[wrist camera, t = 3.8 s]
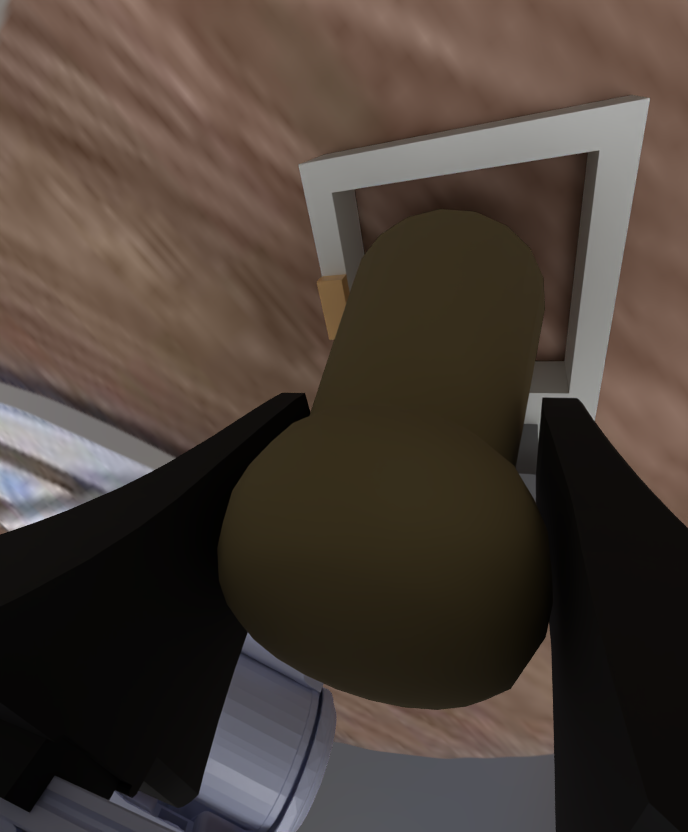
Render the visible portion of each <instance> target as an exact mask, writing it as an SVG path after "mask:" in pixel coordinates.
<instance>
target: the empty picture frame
mask: <svg viewBox="0 0 688 832" xmlns="http://www.w3.org/2000/svg"><path fill="white" fill-rule="evenodd" d="M649 101H650V98H647V97H641V96H635V95H629V96H624V97H618V98H613V99H608V100H603V101H598V102H593V103H587V104H582V105H577V106H572V107H567V108H562V109H557V110H551V111H546V112H541V113H536V114H531V115H526V116H520V117H515V118H510V119H505V120H500V121H495V122H489V123H484V124H479V125H474V126H469V127H464V128H459V129H453V130H448V131H443V132H438V133H433V134H428V135H422V136H417V137H412V138H407V139H402V140H397V141H391V142H386V143H381V144H376V145H371V146H366V147H360V148H355V149H350V150H345V151H340V152H335V153H330V154H324V155H322V156H319V157H316V158H314V159H311V160H309V161H306V162H304V163H301V164H299V170H300V174H301V179H302V184H303V189H304V193H305V198H306V203H307V208H308V212H309V217H310V222H311V226H312V231H313V236H314V241H315V245H316V250H317V255H318V260H319V264H320V269H321V274H322V277H321V278H320V279H319V280H318V281H317V286H318V291H319V295H320V300H321V304H322V309H323V314H324V318H325V323H326V327H327V332H328V336H329V340H334V339H335V336H336V333H337V330H338V327H339V324H340V321H341V318H342V315H343V312H344V309H345V306H346V303H347V300H348V296H349V293H350V290H351V287H352V284H353V281H354V279H355V276H356V273H357V270H358V267H359V265H360V262H361V259H362V257H363V256H364V248H363V241H362V235H361V228H360V222H359V215H358V209H357V202H356V196H355V189H359V188H365V187H371V186H377V185H384V184H390V183H396V182H403V181H409V180H415V179H421V178H428V177H434V176H440V175H447V174H453V173H459V172H465V171H472V170H478V169H484V168H491V167H497V166H503V165H509V164H516V163H522V162H528V161H535V160H541V159H547V158H554V157H560V156H566V155H572V154H579V153H585V152H588V155H587V164H586V173H585V182H584V191H583V200H582V209H581V218H580V227H579V235H578V244H577V253H576V262H575V271H574V280H573V289H572V298H571V306H570V315H569V324H568V333H567V342H566V351H565V360H564V361H535V365H534V370H533V376H532V381H531V387H530V392H529V398H528V403H527V409H526V414H525V420H524V425H523V431H522V436H521V442H520V447H519V453H518V458H517V464H516V470H517V471H518V473H519V475H520V476H521V478H522V480H523V481H524V483H525V485H526V486H527V488H528V490H529V491H530V493H531V495H532V496H533V498H534V500H535V502H536V465H537V453H538V441H539V430H540V418H541V406H542V397H550V398H578V399H579V400H580V401H581V402H582V403H583V405H584V406H585V408H586V409H587V411H588V412H589V414H590V415H591V417H592V418H593V420H594V421H595V416H596V411H597V405H598V399H599V393H600V387H601V381H602V376H603V370H604V364H605V358H606V352H607V346H608V341H609V335H610V329H611V323H612V317H613V311H614V306H615V300H616V294H617V288H618V282H619V276H620V270H621V265H622V259H623V253H624V247H625V241H626V235H627V230H628V224H629V218H630V212H631V206H632V200H633V195H634V189H635V183H636V177H637V171H638V165H639V160H640V154H641V148H642V142H643V136H644V130H645V125H646V119H647V113H648V107H649Z"/></svg>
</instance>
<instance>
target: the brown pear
mask: <svg viewBox="0 0 688 832" xmlns="http://www.w3.org/2000/svg"><path fill="white" fill-rule="evenodd" d="M544 310H545V301H544V280H543V276H542V274H541V271H540V269H539V267H538V265H537V262H536V260H535V258H534V256H533V254H532V251H531V249H530V248H529V247H528V246H527V245H526V244H525V243H524V242H523V241H522V240H521V239H520V238H519V237H518V236H517V235H516V234H515V233H514V232H513V231H512V230H511V229H510V228H509V227H508V226H506V225H504V224H502V223H499V222H497V221H495V220H493V219H490V218H488V217H486V216H484V215H481V214H479V213H477V212H472V211H460V210H447V209H438V210H435V211H431V212H427V213H423V214H419V215H415V216H411V217H407V218H406V219H404V220H403V221H401V222H400V223H398V224H396V225H395V226H393V227H392V228H390V229H389V230H387V231H386V232H384V233H382V234H381V235H380V236H379V237H378V239H377V240H376V241H375V242H374V244H373V245H372V246H371V247H370V249H369V250H368V251H367V252H366V254H365V255H364V256H363V257H362V259H361V262H360V265H359V267H358V270H357V273H356V276H355V279H354V281H353V284H352V287H351V290H350V293H349V296H348V300H347V303H346V306H345V309H344V312H343V315H342V318H341V321H340V324H339V327H338V330H337V333H336V336H335V339H334V342H333V345H332V349H331V352H330V355H329V358H328V361H327V364H326V367H325V370H324V373H323V376H322V379H321V382H320V385H319V388H318V391H317V395H316V398H315V401H314V404H313V407H312V410H311V413H310V416H308V417H306V418H304V419H301V420H299V421H296V422H294V423H292V424H291V425H290V426H289V427H288V428H287V429H285V430H284V431H283V432H282V433H281V434H280V435H278V436H277V437H276V438H275V439H274V440H273V441H272V442H271V443H270V444H269V445H268V446H267V447H266V448H265V449H264V450H263V451H262V452H261V453H260V454H259V455H258V456H257V457H256V458H255V459H254V460H253V461H252V462H251V463H250V464H249V466H248V467H247V469H246V470H245V472H244V473H243V475H242V477H241V478H240V480H239V481H238V483H237V484H236V486H235V487H234V489H233V490H232V493H231V497H230V500H229V503H228V507H227V510H226V514H225V517H224V520H223V524H222V528H221V533H220V538H219V542H218V547H217V555H218V574H219V583H220V586H221V589H222V592H223V594H224V597H225V600H226V603H227V605H228V606H229V608H230V609H231V611H232V612H233V614H234V615H235V616H236V618H237V619H238V621H239V622H240V623H241V624H242V626H243V627H244V628H245V629H246V631H247V632H248V633H249V634H250V636H251V637H252V638H253V639H254V640H255V641H256V642H257V643H258V644H260V645H261V646H262V647H263V648H265V649H266V650H267V651H268V652H270V653H271V654H272V655H273V656H275V657H276V658H277V659H279V660H280V661H282V662H284V663H285V664H287V665H289V666H291V667H292V668H294V669H296V670H297V671H299V672H301V673H302V674H304V675H306V676H308V677H310V678H313V679H315V680H317V681H319V682H322V683H324V684H326V685H328V686H331V687H333V688H335V689H337V690H341V691H344V692H347V693H350V694H353V695H356V696H359V697H362V698H365V699H368V700H372V701H376V702H381V703H386V704H391V705H396V706H401V707H407V708H420V709H434V710H439V709H448V708H457V707H466V706H469V705H472V704H475V703H478V702H481V701H484V700H486V699H489V698H491V697H493V696H495V695H498V694H500V693H502V692H504V691H507V690H509V689H511V687H512V686H513V685H514V683H515V682H516V680H517V679H518V677H519V676H520V674H521V673H522V671H523V670H524V668H525V667H526V665H527V664H528V663H529V661H530V660H531V658H532V657H533V655H534V654H535V652H536V651H537V649H538V648H539V646H540V645H541V643H542V642H543V640H544V639H545V637H546V633H547V628H548V624H549V619H550V614H551V610H552V605H553V587H552V570H551V559H550V549H549V540H548V531H547V528H546V526H545V523H544V521H543V519H542V516H541V514H540V512H539V509H538V507H537V505H536V502H535V500H534V498H533V496H532V495H531V493H530V491H529V490H528V488H527V486H526V485H525V483H524V481H523V480H522V478H521V476H520V475H519V473H518V471H517V470H516V464H517V458H518V453H519V447H520V442H521V436H522V431H523V425H524V420H525V414H526V409H527V403H528V398H529V392H530V387H531V381H532V376H533V370H534V365H535V359H536V354H537V348H538V343H539V337H540V332H541V326H542V321H543V315H544Z"/></svg>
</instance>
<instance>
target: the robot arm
mask: <svg viewBox="0 0 688 832" xmlns="http://www.w3.org/2000/svg"><path fill="white" fill-rule="evenodd" d="M308 416H310V410H309V406H308V402H307V399H306V395H305V393H281V394H279V395H277V396H275V397H274V398H272V399H270V400H268V401H267V402H265V403H263V404H262V405H260V406H259V407H257V408H255V409H254V410H252V411H251V412H249V413H248V414H246V415H245V416H243V417H241V418H240V419H238V420H237V421H235V422H234V423H232V424H231V425H229V426H228V427H226V428H224V429H223V430H221V431H220V432H218V433H217V434H215V435H214V436H212V437H210V438H209V439H207V440H206V441H204V442H202V443H201V444H199V445H197V446H196V447H194V448H192V449H191V450H189V451H187V452H186V453H184V454H182V455H181V456H179V457H177V458H176V459H174V460H172V461H170V462H169V463H167V464H165V465H163V466H161V467H160V468H158V469H156V470H154V471H152V472H150V473H148V474H146V475H144V476H142V477H140V478H138V479H136V480H134V481H132V482H130V483H128V484H126V485H124V486H122V487H120V488H118V489H116V490H114V491H111V492H109V493H107V494H104V495H102V496H100V497H98V498H95V499H93V500H91V501H88V502H86V503H84V504H81V505H79V506H77V507H74V508H72V509H70V510H67V511H65V512H62V513H60V514H57V515H54V516H52V517H49V518H46V519H44V520H41V521H38V522H36V523H33V524H30V525H27V526H24V527H21V528H18V529H16V530H13V531H10V532H7V533H4V534H1V535H0V832H296V831H297V830H298V828H299V827H300V826H301V824H302V823H303V821H304V819H305V817H306V816H307V814H308V812H309V809H310V808H311V805H312V803H313V801H314V799H315V796H316V794H317V792H318V789H319V787H320V784H321V781H322V779H323V776H324V773H325V770H326V767H327V763H328V760H329V756H330V752H331V749H332V744H333V740H334V735H335V729H336V710H335V707H334V703H333V696H332V693H331V692H330V691H329V690H328V689H326V688H323V684H324V683H322V682H319V681H317V680H315V679H313V678H310V677H308V676H306V675H304V674H302V673H301V672H299V671H297V670H296V669H294V668H292V667H291V666H289V665H287V664H285V663H284V662H282V661H280V660H279V659H277V658H276V657H275V656H273V655H272V654H271V653H270V652H268V651H267V650H266V649H265V648H263V647H262V646H261V645H260V644H258V643H257V642H256V641H255V640H254V639H253V638H252V637H251V636H250V634H249V633H248V632H247V631H246V629H245V628H244V627H243V626H242V624H241V623H240V622H239V621H238V619H237V618H236V616H235V615H234V614H233V612H232V611H231V609H230V608H229V606H228V605H227V603H226V600H225V597H224V594H223V592H222V589H221V586H220V583H219V574H218V555H217V547H218V542H219V538H220V533H221V528H222V524H223V520H224V517H225V514H226V510H227V507H228V503H229V500H230V497H231V493H232V490H233V489H234V487H235V486H236V484H237V483H238V481H239V480H240V478H241V477H242V475H243V473H244V472H245V470H246V469H247V467H248V466H249V464H250V463H251V462H252V461H253V460H254V459H255V458H256V457H257V456H258V455H259V454H260V453H261V452H262V451H263V450H264V449H265V448H266V447H267V446H268V445H269V444H270V443H271V442H272V441H273V440H274V439H275V438H276V437H277V436H278V435H280V434H281V433H282V432H283V431H284V430H285V429H287V428H288V427H289V426H290V425H291V424H292V423H294V422H296V421H299V420H301V419H304V418H306V417H308ZM536 505H537V507H538V509H539V512H540V514H541V516H542V519H543V521H544V523H545V526H546V528H547V531H548V540H549V549H550V559H551V570H552V587H553V605H552V610H551V614H550V619H549V625H550V637H551V651H552V684H553V720H554V758H555V760H554V761H555V813H556V814H555V815H556V832H688V528H687V527H686V526H685V525H684V524H683V523H682V522H681V521H680V520H679V519H678V518H677V517H676V516H675V515H674V514H673V513H672V512H671V511H670V510H669V509H668V508H667V507H666V506H665V505H664V504H663V503H662V501H661V500H660V499H659V498H658V497H657V496H656V495H655V494H654V493H653V492H652V491H651V490H650V489H649V488H648V487H647V485H646V484H645V483H644V482H643V481H642V480H641V479H640V478H639V477H638V475H637V474H636V473H635V472H634V471H633V469H632V468H631V467H630V466H629V465H628V464H627V462H626V461H625V460H624V459H623V458H622V456H621V455H620V454H619V453H618V452H617V450H616V449H615V448H614V447H613V445H612V444H611V443H610V441H609V440H608V439H607V437H606V436H605V435H604V433H603V432H602V431H601V429H600V428H599V427H598V425H597V424H596V423H595V421H594V420H593V418H592V417H591V415H590V414H589V412H588V411H587V409H586V408H585V406H584V405H583V403H582V402H581V401H580V400H579V399H578V398H550V397H542V406H541V418H540V430H539V441H538V453H537V465H536Z"/></svg>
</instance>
